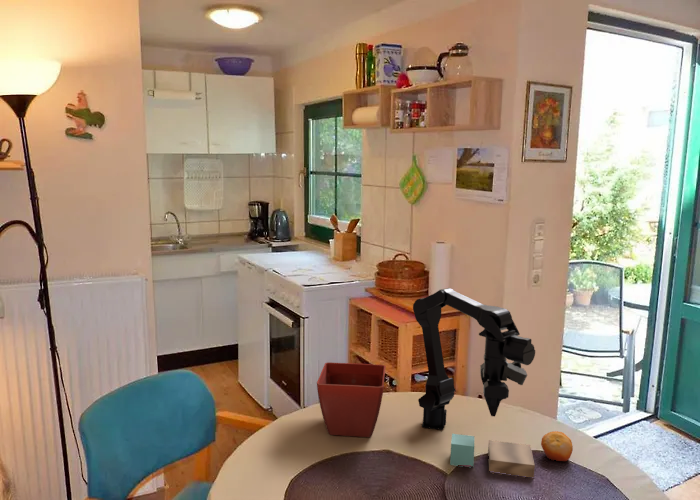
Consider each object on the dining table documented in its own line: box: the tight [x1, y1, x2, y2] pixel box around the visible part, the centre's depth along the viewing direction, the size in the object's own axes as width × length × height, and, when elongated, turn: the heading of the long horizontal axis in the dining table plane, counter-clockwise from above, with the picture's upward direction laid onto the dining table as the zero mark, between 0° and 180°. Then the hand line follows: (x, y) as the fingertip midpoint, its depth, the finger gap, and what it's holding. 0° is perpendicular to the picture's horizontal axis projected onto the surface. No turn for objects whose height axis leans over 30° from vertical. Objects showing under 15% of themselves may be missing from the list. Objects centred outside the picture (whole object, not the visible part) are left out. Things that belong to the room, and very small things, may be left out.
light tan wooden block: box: [487, 439, 536, 478], centre depth 148 cm, size 11×11×4 cm
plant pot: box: [316, 362, 387, 438], centre depth 168 cm, size 19×19×17 cm
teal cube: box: [449, 433, 475, 467], centre depth 150 cm, size 6×6×6 cm
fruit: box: [540, 430, 574, 462], centre depth 153 cm, size 8×8×8 cm
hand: (491, 409), depth 154 cm, fingers open, 9 cm apart
